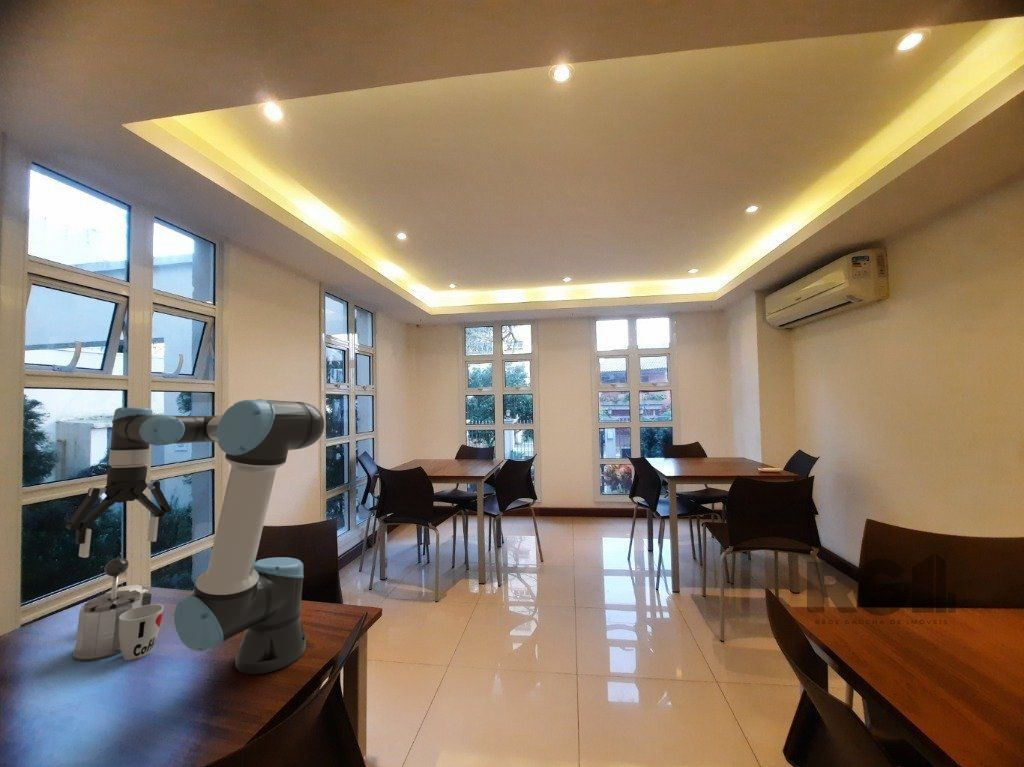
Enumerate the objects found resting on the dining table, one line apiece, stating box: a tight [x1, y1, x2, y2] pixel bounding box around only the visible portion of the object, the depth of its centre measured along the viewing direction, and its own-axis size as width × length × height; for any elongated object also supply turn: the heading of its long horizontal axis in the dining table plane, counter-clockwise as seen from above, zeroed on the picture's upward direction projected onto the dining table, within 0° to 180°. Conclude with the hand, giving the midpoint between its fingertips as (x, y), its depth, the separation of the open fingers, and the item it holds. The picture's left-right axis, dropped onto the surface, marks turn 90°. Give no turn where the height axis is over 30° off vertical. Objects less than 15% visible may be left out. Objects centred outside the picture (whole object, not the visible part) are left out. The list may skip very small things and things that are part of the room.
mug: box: [104, 584, 149, 594], centre depth 111 cm, size 8×9×9 cm
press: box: [72, 590, 152, 662], centre depth 101 cm, size 12×14×12 cm
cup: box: [119, 603, 165, 661], centre depth 98 cm, size 8×8×10 cm
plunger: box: [104, 557, 130, 609], centre depth 101 cm, size 9×9×20 cm
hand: (119, 548), depth 102 cm, fingers open, 13 cm apart
